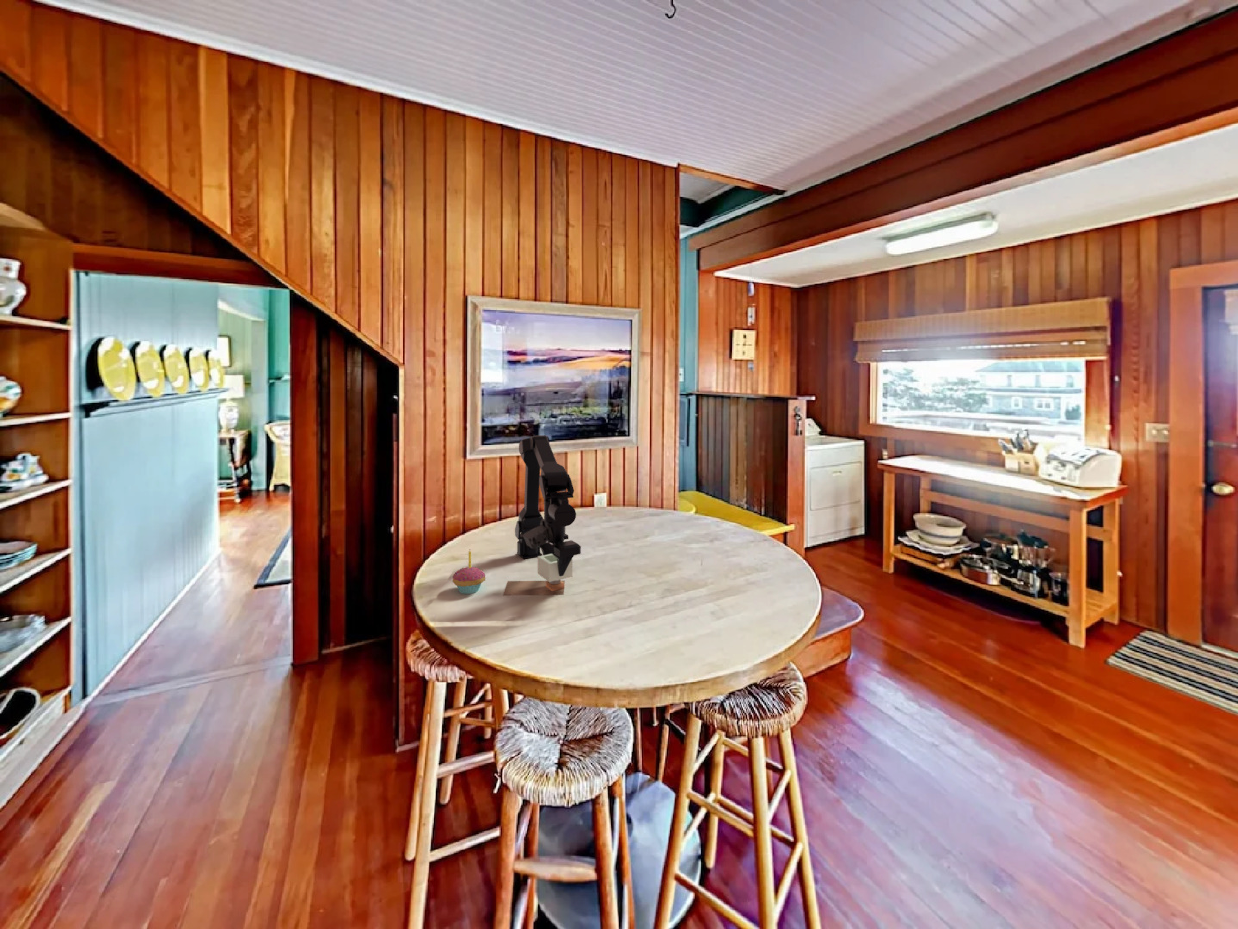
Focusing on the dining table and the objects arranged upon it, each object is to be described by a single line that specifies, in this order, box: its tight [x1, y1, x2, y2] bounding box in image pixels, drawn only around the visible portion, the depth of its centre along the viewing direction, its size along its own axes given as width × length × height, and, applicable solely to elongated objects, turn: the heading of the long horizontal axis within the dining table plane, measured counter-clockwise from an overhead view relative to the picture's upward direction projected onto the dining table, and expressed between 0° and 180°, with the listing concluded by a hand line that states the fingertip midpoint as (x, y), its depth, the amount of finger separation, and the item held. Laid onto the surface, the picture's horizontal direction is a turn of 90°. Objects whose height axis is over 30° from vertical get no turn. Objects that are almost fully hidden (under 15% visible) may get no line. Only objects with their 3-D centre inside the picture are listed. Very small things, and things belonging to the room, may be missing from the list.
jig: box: [502, 579, 566, 596], centre depth 153 cm, size 16×10×6 cm, turn 94°
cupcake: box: [452, 550, 486, 594], centre depth 151 cm, size 9×8×12 cm
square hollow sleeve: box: [537, 554, 573, 582], centre depth 153 cm, size 7×7×5 cm
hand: (554, 571), depth 153 cm, fingers closed on square hollow sleeve, 7 cm apart
